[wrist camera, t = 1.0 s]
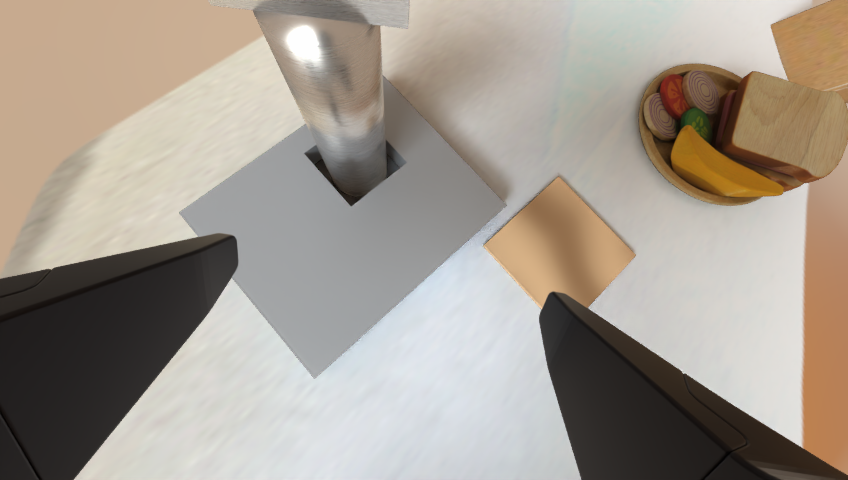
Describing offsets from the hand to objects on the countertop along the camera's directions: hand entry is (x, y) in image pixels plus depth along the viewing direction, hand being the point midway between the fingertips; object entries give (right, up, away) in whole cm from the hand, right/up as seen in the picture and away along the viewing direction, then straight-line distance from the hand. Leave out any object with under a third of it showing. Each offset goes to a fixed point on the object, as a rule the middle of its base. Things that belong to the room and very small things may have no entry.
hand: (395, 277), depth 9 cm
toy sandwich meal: (+25, +10, +18) cm, 32 cm away
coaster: (+11, 0, +14) cm, 18 cm away
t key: (-4, +6, +14) cm, 16 cm away
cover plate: (-4, +3, +13) cm, 14 cm away
